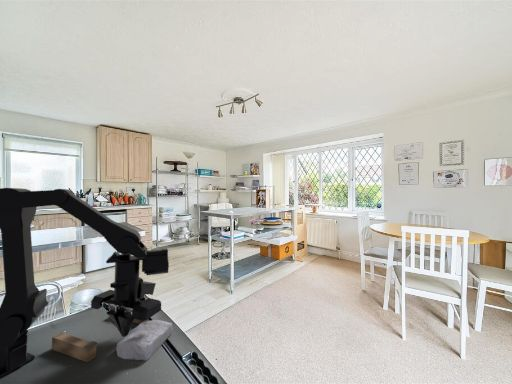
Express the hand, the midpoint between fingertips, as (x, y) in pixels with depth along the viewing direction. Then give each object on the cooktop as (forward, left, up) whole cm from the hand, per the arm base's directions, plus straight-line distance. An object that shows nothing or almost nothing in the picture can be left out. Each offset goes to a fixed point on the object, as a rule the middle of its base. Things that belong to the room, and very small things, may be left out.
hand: (125, 336), depth 59 cm
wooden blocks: (-7, 0, -1) cm, 7 cm away
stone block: (+6, +1, -2) cm, 6 cm away
